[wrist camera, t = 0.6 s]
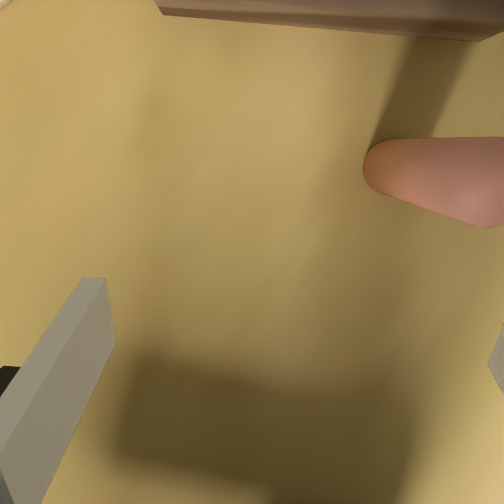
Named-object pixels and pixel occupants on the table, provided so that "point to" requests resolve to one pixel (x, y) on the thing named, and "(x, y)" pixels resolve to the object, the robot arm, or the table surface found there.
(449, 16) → the socket block
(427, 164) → the pin
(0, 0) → the hand bell
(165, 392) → the table surface
